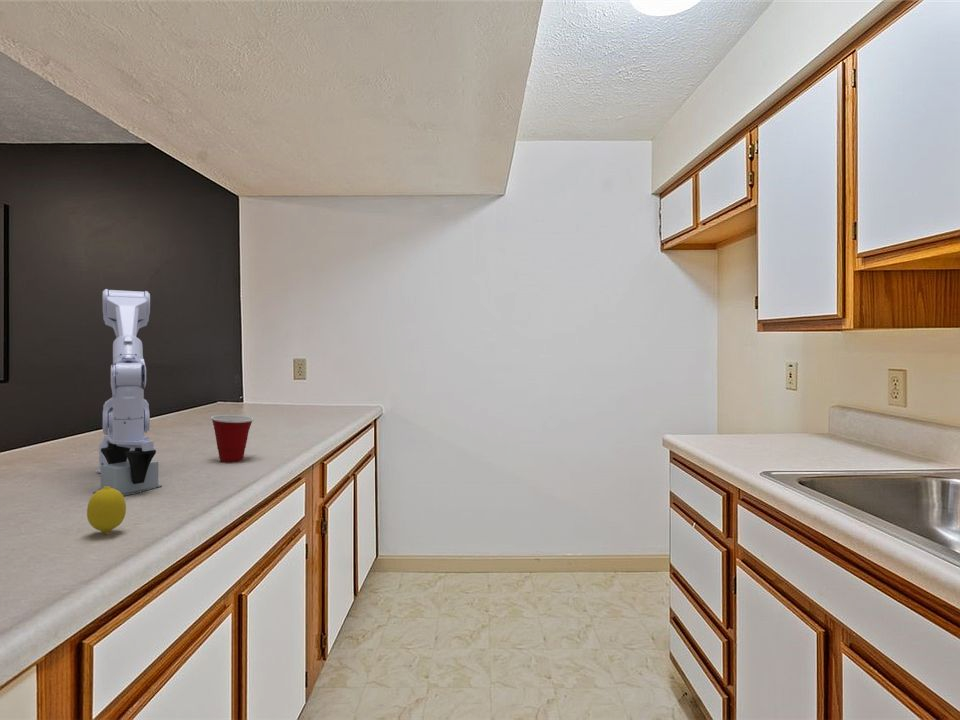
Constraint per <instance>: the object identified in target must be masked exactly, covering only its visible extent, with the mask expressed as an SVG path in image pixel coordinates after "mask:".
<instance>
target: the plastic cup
mask: <svg viewBox="0 0 960 720" xmlns="http://www.w3.org/2000/svg"><path fill="white" fill-rule="evenodd" d="M210 419H211V421H212V425H213V430H214V434H215V441H216V442H215V443H216V447H217V451H218V457H219V461H220V462H221V463H238V462H242V461H243V460H244V457H245V451H246V448H247V442H248V438H249V431H250V428H251V427H252V426H251V425H252V422H253V421H254V419H255V418H254V417H252V416H249V415H240V414H217V415H212V416H210Z"/></svg>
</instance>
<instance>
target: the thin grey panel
mask: <svg viewBox="0 0 960 720" xmlns="http://www.w3.org/2000/svg"><path fill="white" fill-rule="evenodd" d="M160 486H161V485H159V484H158V486H156V487H159V488H161V487H160ZM156 487H151V488H147V489H142V490H137V491H133V492H128V493H123V494H122V495H123V497H126V496H125V495H127V496H130V495H129V494H131V495H134V494H133V493H135V494H138V493H137V492H139V493H141V492H140V491H143V492H146V491H145V490H147V491H150V490H149V489H151V490H153V489H152V488H155V489H157V488H156ZM97 491H98V490H96V491H93V492H94V493H93V494H95V493H96V492H97Z"/></svg>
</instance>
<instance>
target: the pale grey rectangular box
mask: <svg viewBox="0 0 960 720" xmlns="http://www.w3.org/2000/svg"><path fill="white" fill-rule="evenodd" d="M158 485H159V461H156V460H151V462H150V464H149V467H148V470H147V473H146V477H145V481H144V483H139V484H133V482H132V477H131V468H130V464H129V461H126V462H120V463H114V464H108V465H102V466H101V473H100V490H101V489H103V488H104V487H105V486H109V487H110V488H113V489H116V490H118V491H119V492H121V494H123V493H128V492H133V491H137V490H142V489H147V488H151V487H156V486H158Z"/></svg>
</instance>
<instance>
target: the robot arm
mask: <svg viewBox="0 0 960 720" xmlns="http://www.w3.org/2000/svg"><path fill="white" fill-rule="evenodd" d="M102 314H103V315H102V316H103V322H104V325H106V326H108V327H110V328H112V329H113V331H114V335H115V337H116V338H115V339H114V340H113V343H112V364H111V365H110V388H111V393H112V395H111V397H110V398H109V399H107V400H106V401H105V402H104V404H103V409H102V434H103V435H104V436H103V438H102V439H101V441H100V443H99V447H98V450H99V451H98V461H99V462H98V465H99V466H98V467H99V468H98V469H96V470H95V473H100V474H101V466H102V465H108V464H114V463H120V462H126V461H129V464H130V468H131V477H132V482H133V484H139V483H144V481H145V477H146V473H147V470H148V467H149V464H150V462H151V461H153V459H154V456H155V455H156V454H157V449H155V448H154V447H155V446H154V442H155V441H154V440H150V439H149V435H148V436H147V435H145V434H146V433H148V432H149V431H150V423H151V422H150V420H151V419H150V417H151V416H150V407H149V406H150V405H149V402H148V400H147V399H145V395H144V393H145V391H144V390H145V389H146V386H147V366H146V362H145V359H144V353H143V351H144V350H143V349H144V348H143V342H142V340H141V339H140V338H139V337H137V334H138V332H139V330H140V329H141V328H144V327H147V325H148V323H149V319H150V314H151V294H150V292H149V291H147V290H145V291H135V290H116V289H108V288H105V289H103V291H102ZM142 384H143V387H142Z"/></svg>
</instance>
